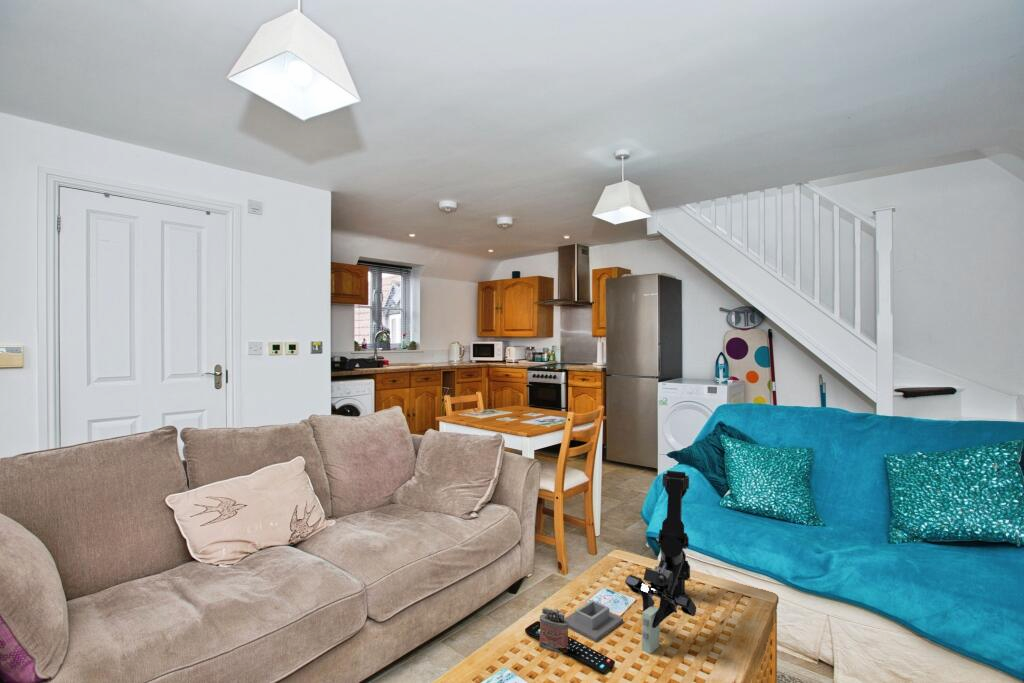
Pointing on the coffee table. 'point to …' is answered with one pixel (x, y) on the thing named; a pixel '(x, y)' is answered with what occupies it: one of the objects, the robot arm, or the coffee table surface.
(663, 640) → the coffee table surface
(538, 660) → the coffee table surface
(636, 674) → the coffee table surface
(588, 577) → the coffee table surface
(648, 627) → the pale green rectangular block
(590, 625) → the grey socket base
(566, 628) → the lighter
